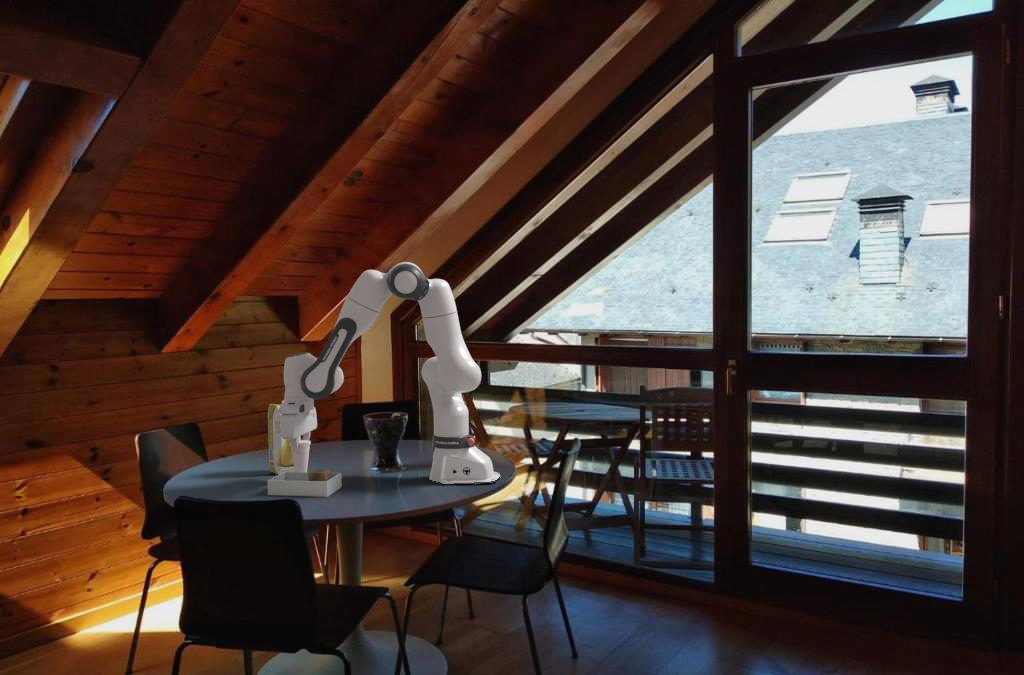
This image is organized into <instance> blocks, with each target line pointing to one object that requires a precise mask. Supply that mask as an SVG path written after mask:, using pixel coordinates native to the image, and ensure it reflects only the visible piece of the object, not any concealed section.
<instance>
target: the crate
mask: <svg viewBox="0 0 1024 675" xmlns="http://www.w3.org/2000/svg"><path fill="white" fill-rule="evenodd" d="M309 472H310V471H307V472H283V473H281V474H279V475H277V474H276V475H275V476H273V477H272V478H270V479H267V495H268V496H294V497H322V498H324V497H326V498H328V497H330V496H331V495H332V494H334V493H336V492H337V491H338V490H340V489H342V486H343V485H342V484H343V483H342V481H343V480H342V478H343V476H342V472H331V479H329V480H328V481H326V482H322V481H308V473H309Z"/></svg>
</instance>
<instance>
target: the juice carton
mask: <svg viewBox="0 0 1024 675" xmlns="http://www.w3.org/2000/svg"><path fill="white" fill-rule="evenodd" d="M283 401H284V400H281V403H278V404H277V403H270V404H269V405H268V412H267V431H268V432H267V435H268V436H267V438H268V465H269V470H270V472H271V473H272V472H273V473H272V474H274V473H275V475H277V474H278V475H279V474H281V473H283V472H295V470H294V463H293V456H292V450H291V446H290V439H283V438H282V436H281V428H280V417H281V415H282V414H279V407H280V406H281V404H282V403H283ZM299 440H302V438H301V436H299Z"/></svg>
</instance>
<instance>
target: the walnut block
mask: <svg viewBox="0 0 1024 675" xmlns="http://www.w3.org/2000/svg"><path fill="white" fill-rule="evenodd" d="M308 472H309V473H308V481H322V482H326V481H328V480H329V479H331V473H332V469H324V468H323V469H322V468H320V469H319V468H315V469H311V471H308Z"/></svg>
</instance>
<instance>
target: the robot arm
mask: <svg viewBox="0 0 1024 675" xmlns="http://www.w3.org/2000/svg"><path fill="white" fill-rule="evenodd" d="M393 296H395V297H397V298H399V299H403V300H412V301H417V302H418V305H419V307H420V314H421V318H422V324H423V328H424V334H425V339H426V342H427V344H428V345H429V346H430V348H432V349H431V350H432V351H433V353H434V355H435V356H433V357H429V358H428V359H427V360H426V361H424V363H423V364H422V368H421V376H422V379H423V381H424V382H425V384H426V386H427V389H428V392H429V397H430V401H431V407H432V411H433V434H432V438H431V443H432V444H431V446H432V448H431V449H432V452H433V453H432V454H433V456H432V464H431V468H430V475H429V480H430V481H431V480H432V481H431V482H434V481H436V482H435V483H438V482H440V483H442V484H454V483H474V482H491V481H495V480H497V479H498V478H499V477H500V478H501V474H500V472H497V471H494V465H493V461H492V459H491V458H490V456H489V455H487V454H486V453H485V452H483V451H482V450H480V449H479V447H477V446H475V445H476V436H475V435H472V434H470V428H469V427H470V426H469V423H470V421H469V417H470V416H469V414H470V413H469V408H468V406H467V405H466V403H465V401H464V399H463V395H462V393H463V394H464V393H469V392H472V391H474V390H476V389H477V388H478V387H479V386H480V383H481V381H482V371H481V368H480V366H479V365H478V363H476V362H475V360H474V359H473V357H472V356H471V354H470V351H469V350H468V347H467V345H466V343H465V340H464V336H463V334H462V330H461V325H460V320H459V315H458V309H457V305H456V301H455V298H454V294H453V291H452V289H451V286H450V284H449V283H448V281H446V280H444V279H441V278H432V279H431V278H427V277H426V276H425V274H424V273H423V272H422V269H421V268H420V267H419V266H418V265H417V264H415V263H413V262H410V261H402V262H399V263H397V264H395V265H394V266H392V267H391V268H390V269H388V270H386V271H385V272H381V271H379V270H377V269H367V270H365V271H363V272H361V274H360V276H359V277H358V278H357V280H356V281H355V282H354V284H353V285H352V287H351V289H350V291H349V293H348V294H347V296H346V298H345V301H344V302H343V305H342V307H341V309H340V312H339V315H338V318H337V320H336V323H335V325H334V327H333V330H332V332H331V334H330V336H329V338H328V340H327V341H326V343H325V344H324V346H323V349H322V350H321V352H320V354H319V356H318V357H316V356H314V355H313V354H311V353H310V352H308V351H307V352H306V351H303V352H299V353H293V354H291V355H288V356H287V357H286V358H285V361H284V365H283V384H284V387H285V388H284V389H285V390H284V395H283V398H284V400H282V401H283V403H282V402H281V403H280V404H281V406H280V407H279V414H282V415H281V417H280V428H281V436H282V438H283V439H290V443H291V445H292V451H298V450H299V445H298V442H297V440H298V437H299V436H300V437H301V436H302V440H310V438H311V432H312V431H314V430H316V429H317V428H318V418H317V416H318V415H317V409H316V407H315V406H314V405H315V403H314V402H315V401H314V400H318V401H319V400H324V399H325V398H327V397H329V395H331V394H333V393H334V392H336V391H337V390H339V389H340V388H341V387H342V386H343V384H344V381H345V376H344V375H345V374H344V372H343V371H344V370H342V368H341V367H340V366H339V365H340V363H341V362H342V360H343V357H345V353H347V350H348V348H349V347H350V346H351V345H352V343H353V342H354V341H355V340H357V338H359V337H361V336H362V335H363V334H364V333H367V332H368V331H369V329H370V328H371V327H372V326H373V324H374V323H375V322H376V321H377V319H378V317H379V315H380V313H381V311H382V308H383V306H384V305H385V304H386V302H387V301H388V299H389V298H390V297H393ZM440 483H439V484H440ZM442 484H441V485H442Z"/></svg>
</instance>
